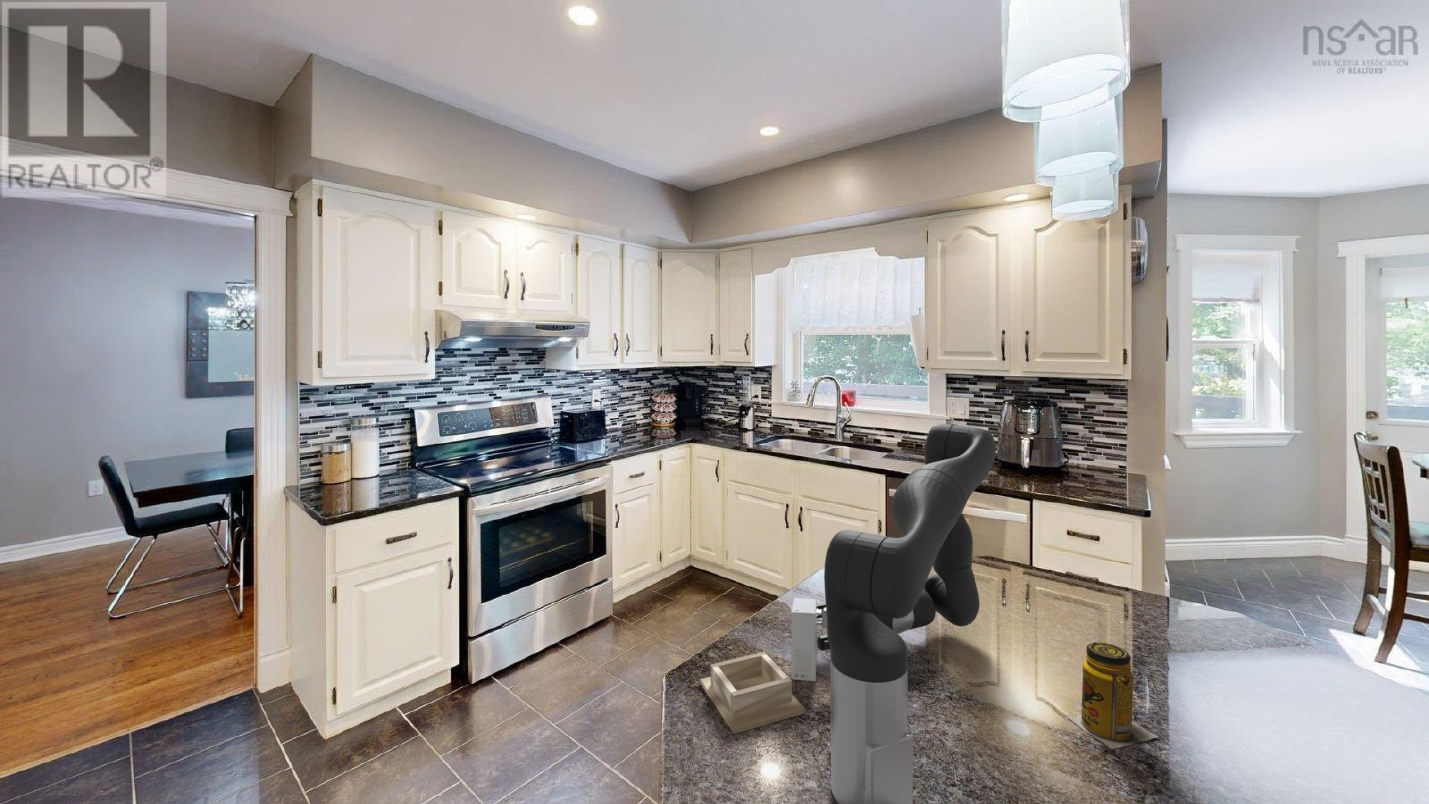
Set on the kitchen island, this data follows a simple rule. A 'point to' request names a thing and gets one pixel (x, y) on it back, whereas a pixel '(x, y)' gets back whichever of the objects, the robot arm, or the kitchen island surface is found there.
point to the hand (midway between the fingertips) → (805, 632)
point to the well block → (751, 692)
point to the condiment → (1109, 697)
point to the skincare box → (804, 639)
